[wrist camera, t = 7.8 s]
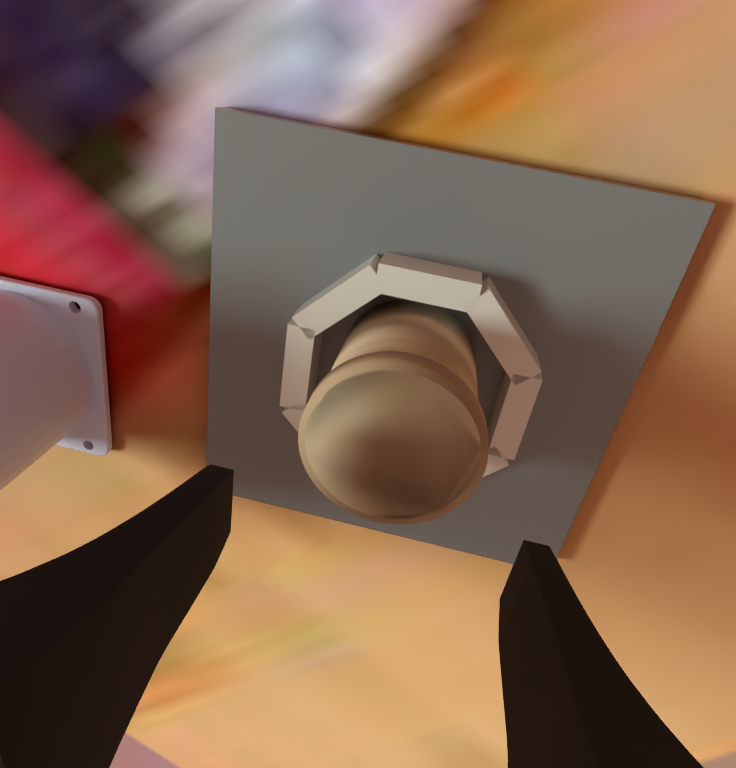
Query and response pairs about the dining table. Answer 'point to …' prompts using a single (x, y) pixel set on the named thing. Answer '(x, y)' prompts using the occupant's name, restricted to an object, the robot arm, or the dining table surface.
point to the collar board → (440, 288)
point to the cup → (398, 417)
